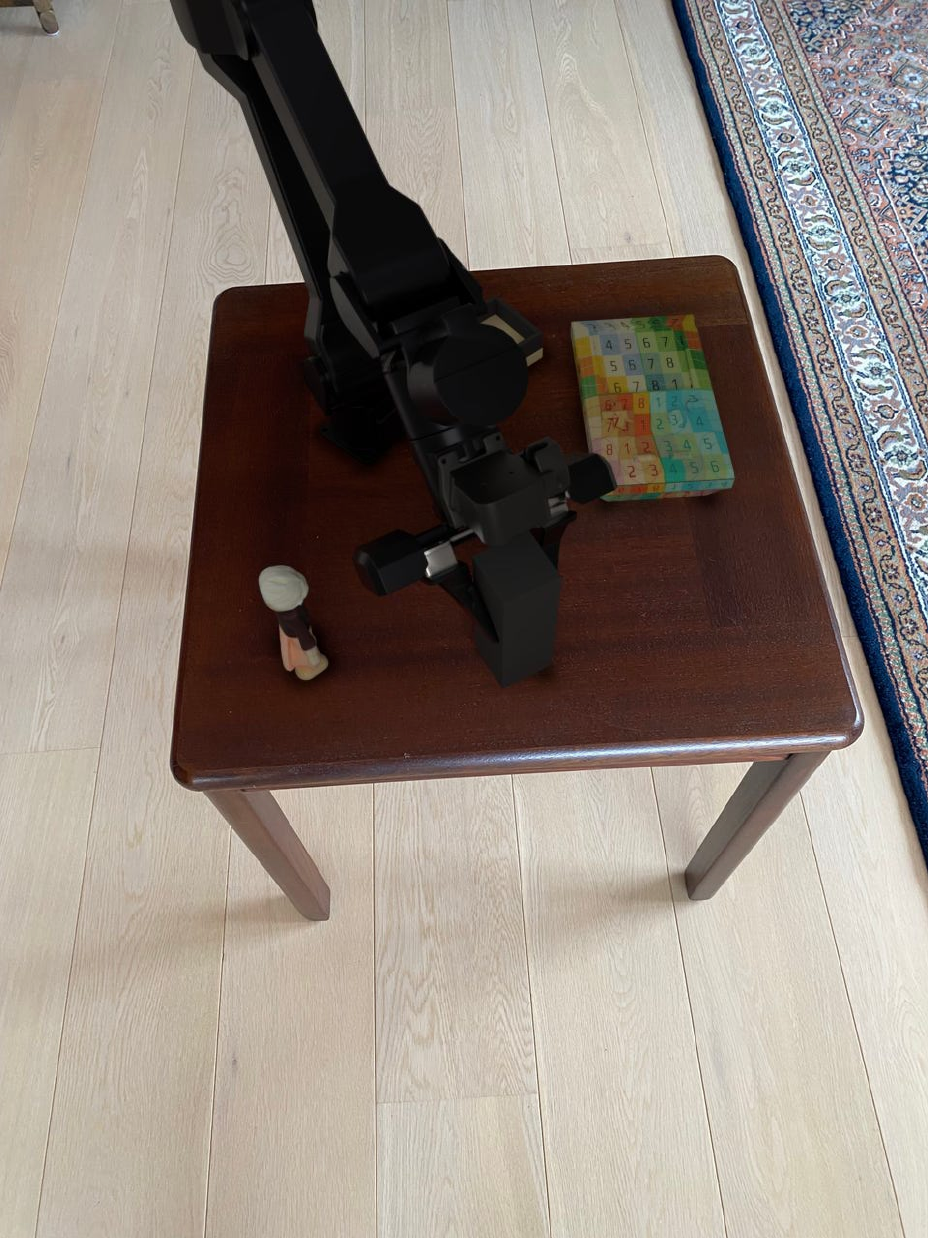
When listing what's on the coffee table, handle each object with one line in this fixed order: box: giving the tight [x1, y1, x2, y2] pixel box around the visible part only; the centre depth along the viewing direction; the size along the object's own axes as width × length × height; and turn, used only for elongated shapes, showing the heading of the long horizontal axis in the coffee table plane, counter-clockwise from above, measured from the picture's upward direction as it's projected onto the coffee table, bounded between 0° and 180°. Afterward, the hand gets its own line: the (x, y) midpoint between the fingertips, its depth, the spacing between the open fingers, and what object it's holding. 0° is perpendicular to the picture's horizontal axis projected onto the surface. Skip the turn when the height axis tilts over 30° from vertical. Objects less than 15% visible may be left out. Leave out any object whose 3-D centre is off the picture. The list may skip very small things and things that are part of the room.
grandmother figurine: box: [258, 564, 329, 681], centre depth 70 cm, size 8×4×13 cm, turn 37°
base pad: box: [477, 294, 544, 367], centre depth 90 cm, size 7×7×3 cm
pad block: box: [471, 530, 563, 690], centre depth 68 cm, size 4×4×13 cm
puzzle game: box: [570, 314, 736, 502], centre depth 84 cm, size 12×5×20 cm
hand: (523, 628), depth 67 cm, fingers closed on pad block, 4 cm apart
